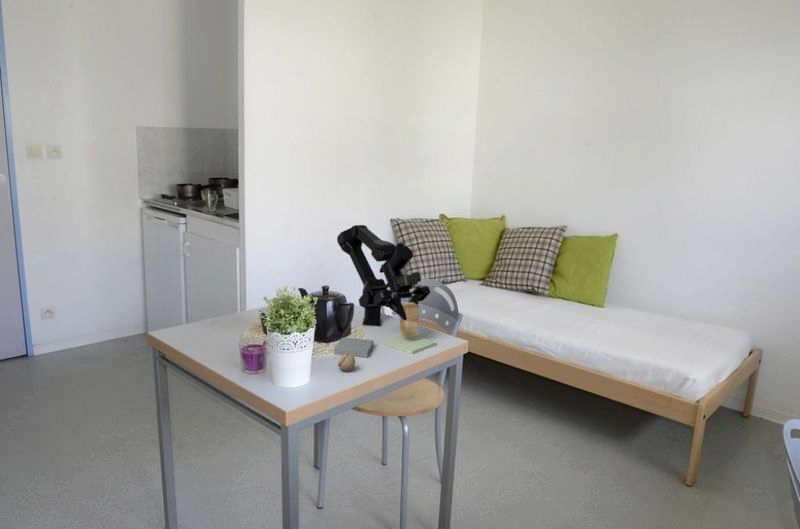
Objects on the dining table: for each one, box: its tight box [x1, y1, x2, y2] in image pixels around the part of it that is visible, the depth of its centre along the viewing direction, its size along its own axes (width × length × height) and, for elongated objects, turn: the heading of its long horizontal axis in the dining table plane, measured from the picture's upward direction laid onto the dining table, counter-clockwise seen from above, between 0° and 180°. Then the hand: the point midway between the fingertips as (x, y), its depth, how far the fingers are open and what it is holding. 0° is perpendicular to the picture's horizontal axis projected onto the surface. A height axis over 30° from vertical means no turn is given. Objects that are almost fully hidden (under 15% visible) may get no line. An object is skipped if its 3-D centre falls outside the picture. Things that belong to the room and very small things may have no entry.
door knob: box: [337, 353, 356, 372], centre depth 169 cm, size 5×5×5 cm
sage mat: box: [382, 334, 437, 355], centre depth 193 cm, size 12×12×1 cm
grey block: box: [333, 336, 375, 359], centre depth 185 cm, size 10×10×2 cm
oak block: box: [399, 301, 420, 337], centre depth 192 cm, size 4×4×10 cm
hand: (411, 319), depth 191 cm, fingers closed on oak block, 4 cm apart
